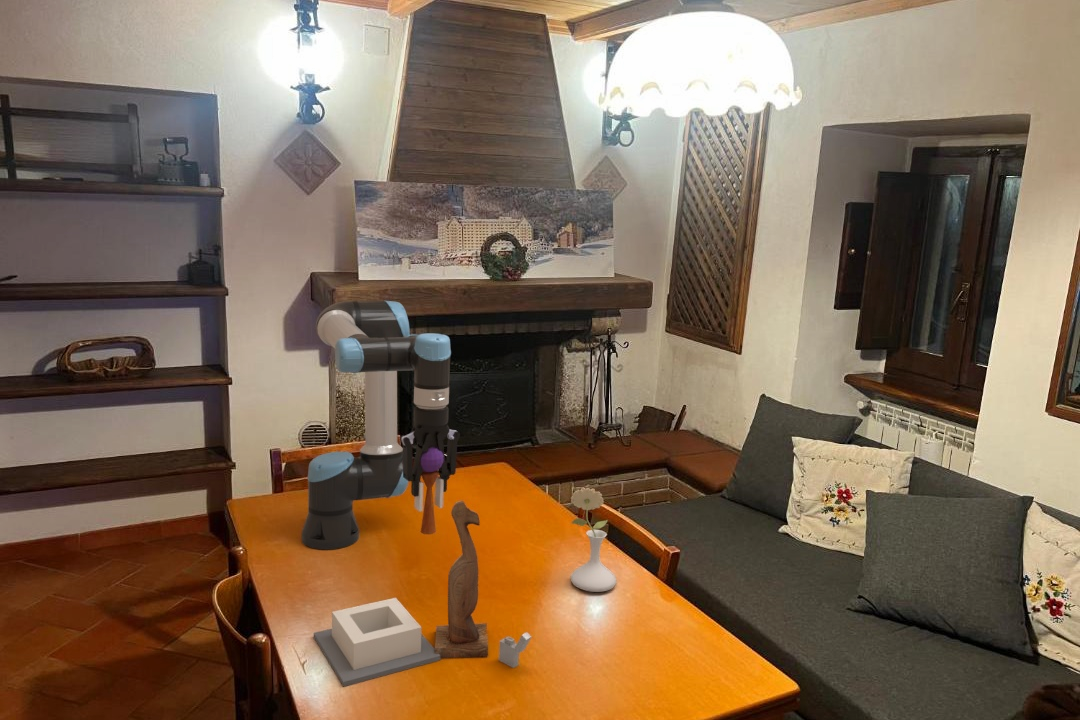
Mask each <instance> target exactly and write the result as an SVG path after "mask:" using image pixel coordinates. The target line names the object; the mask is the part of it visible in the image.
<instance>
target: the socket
mask: <svg viewBox="0 0 1080 720" xmlns="http://www.w3.org/2000/svg"><path fill="white" fill-rule="evenodd" d="M331 615H332V616H331V628H328V629H324V630H320V631H317V632H316V631H315V632H313V639H314V641H315V643H317V646H318V647H319V648H320V650H321V651H322V654H323V655H324V657H325V658H326V660H327V662H328V663H329V665H330V667H331V669H332V670H333V671H334V673H335V675H336V676H337V678H338V680H339V682H340V683H341V685H342V686H343V688H344V687H349V686H353V685H355V684H358V683H362V682H367V681H370V680H374V679H376V678H377V679H378V678H381V677H384V676H388V675H391V674H392V675H393V674H395V673H398V672H402V671H406V670H409V669H413V668H417V667H420V666H424V665H427V664H432V663H436V662H438V661H441V659H440V655H439V654H435V647H434V646H433V645H432V644H431V643H430V641H429V640H428V639H427V638H426V637H425V636H424V635H423V633H422V625H420V624H419V622H417V621H416V619H415V618H414V617H413V616H412V615H411V614H410V612H409V611H408V610H407V609H406V607H404V605H403V604H402V603H401V602H400V601H399V600H398V598H397V597H392V598H388V599H384V600H379V601H374V602H369V603H366V604H360V605H357V606H352V607H347V608H344V609H343V608H342V609H339V610H333V611H332V612H331Z"/></svg>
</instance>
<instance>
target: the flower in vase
mask: <svg viewBox="0 0 1080 720" xmlns="http://www.w3.org/2000/svg"><path fill="white" fill-rule="evenodd" d="M602 496H603V494H602V493H601V492H600V491H596V490H595V488H589V487H586V488H585V487H581V489H577V490H576V491H574V492H573V494H572V496H570V500H571V503H573V505H574V507H577V508H579V509H582V510H584V511H585V512H586V513H585V514H586V515H585V517H586V518H585V519H586V520H585V519H582V518H580V517H579V518H575V519H572V521H571V522H570V524H575V525H578V526H581V527H584V526H585V525H587V524H588V526H589V528H590V530H589V529H588V530H587V531H586V532H585V533H586V535H587V537H588V539H589V544H590V557H589V560H588V561H587V562H586V563H584V564H583V565H581V566H579V567H577V568H576V569H575V570H573V572H572V573H571V575H570V581H571V583H572V584H573V586H575V587H577V588H578V589H580V590H583V591H586V592H593V593H594V592H595V593H598V592H607V591H609V590H611V589H613V588H614V587H615V586H616V585H617V579H616V578H617V577H616V575H615V574H614V573H613V572H612V571H611V570H610V569H609V568H607V567H606V566H605V565H604V564H603V563H602V561H601V559H600V557H601V555H600V554H601V547H602V544H603V543H602V542H603V540H604V539H605V538H606V537H607V535H608V534H607V532H605V531H603V530H600V529H601V528H603V527H605V526H606V524H607V523H608V520H609V519H606V520H601V521H597V522H596V523H595V524H594V525H593V527H592V525H591V523H590V522H589V520H588V519H589V518H588V514H589V513H588V511H590V510H595V509H600V508H601V506H602V505H603V504H604V502H605V501H604V498H603V497H602Z"/></svg>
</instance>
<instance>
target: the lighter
mask: <svg viewBox="0 0 1080 720" xmlns="http://www.w3.org/2000/svg"><path fill="white" fill-rule="evenodd" d="M531 639H532V636H531V634H530V633H529V632H524V633H523V634H521V635H520V638H519V640H518V641H517V643H516V641H515V640H516V639H514V638H513V637H511V636H505V637H504V638H502V639H500V640H499V649H498V661H499V662H501V663H502V664H505V665H507V666H509V667H510V668H513V669H514V668H516V667H518V666H519V665H520V664H519V660H520V653H522V652H524V651H526V648H527V646H528V644H529V642H530V641H531Z"/></svg>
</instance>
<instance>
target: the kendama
mask: <svg viewBox="0 0 1080 720" xmlns="http://www.w3.org/2000/svg"><path fill="white" fill-rule="evenodd" d="M444 455H445V454H444ZM444 455H443V453H442V451H439V449H438V447H431V448H428V452H427V453H424V454H423V455H422V458H421V466H422V468H423V470H422V474H421V479H422V480H423V484H424V485H425V487H426V490H425V491H426V493H425V498H424V505H423V511H422V519H421V527H420V533H421V534H423V535H434V534H435V533H436V531H437V528H436V517H435V509H434V508H435V507H434V496H433V495H434V494H433V487H434V486H435V481H436V479H437V477H438V476H440V475H439V471H438V469H439V468H440V467H441V466H442V464H443V461H444Z"/></svg>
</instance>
